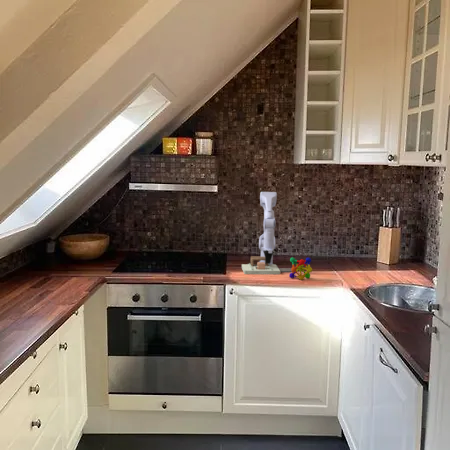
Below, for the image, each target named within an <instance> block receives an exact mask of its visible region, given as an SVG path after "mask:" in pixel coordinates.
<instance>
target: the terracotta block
mask: <svg viewBox="0 0 450 450" xmlns="http://www.w3.org/2000/svg"><path fill="white" fill-rule="evenodd" d="M256 264H257V269H261V270H265V262H260V261H257V263H256Z"/></svg>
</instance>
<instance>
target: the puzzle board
mask: <svg viewBox="0 0 450 450" xmlns="http://www.w3.org/2000/svg"><path fill="white" fill-rule="evenodd" d="M279 268H280V267H278V265H277V264H274V265H269V264H268V266H266V265H265V270H261V269H257V263H256V264H254V263H253V266H251V264H250V262H249V263H247V264H243V263H242V264H241V269H242V272H243V274H244V275H281V271H280V270H279Z"/></svg>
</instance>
